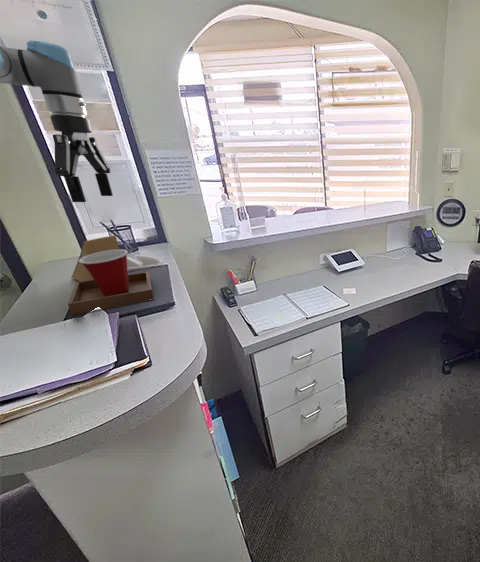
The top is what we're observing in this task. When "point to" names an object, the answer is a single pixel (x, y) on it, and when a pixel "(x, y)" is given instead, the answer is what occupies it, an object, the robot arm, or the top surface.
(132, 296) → the tray
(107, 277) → the plastic cup
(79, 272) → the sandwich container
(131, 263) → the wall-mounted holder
